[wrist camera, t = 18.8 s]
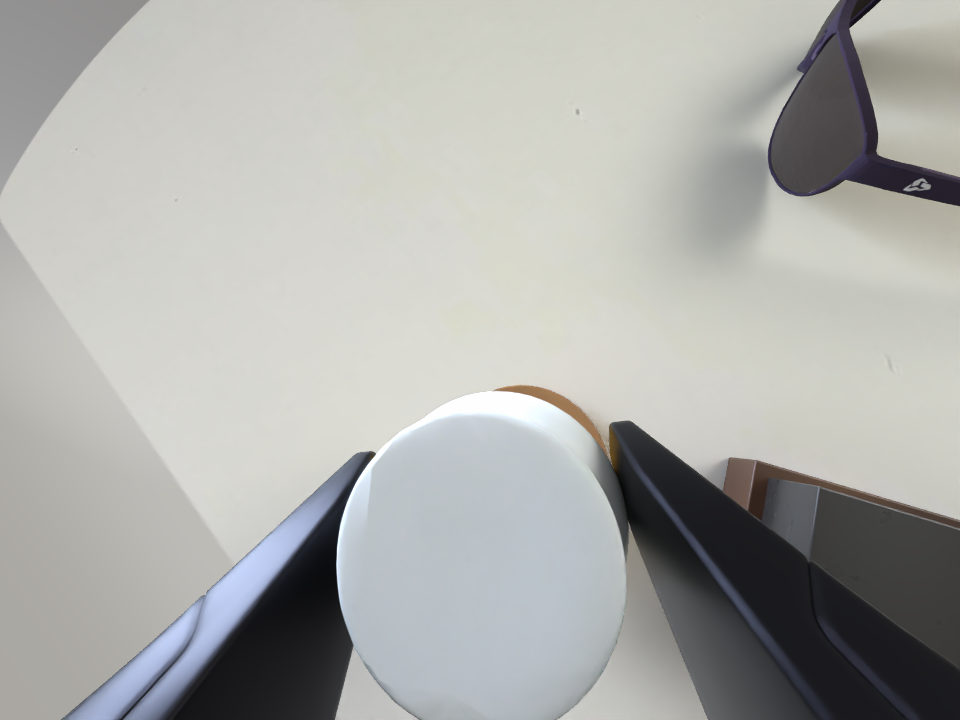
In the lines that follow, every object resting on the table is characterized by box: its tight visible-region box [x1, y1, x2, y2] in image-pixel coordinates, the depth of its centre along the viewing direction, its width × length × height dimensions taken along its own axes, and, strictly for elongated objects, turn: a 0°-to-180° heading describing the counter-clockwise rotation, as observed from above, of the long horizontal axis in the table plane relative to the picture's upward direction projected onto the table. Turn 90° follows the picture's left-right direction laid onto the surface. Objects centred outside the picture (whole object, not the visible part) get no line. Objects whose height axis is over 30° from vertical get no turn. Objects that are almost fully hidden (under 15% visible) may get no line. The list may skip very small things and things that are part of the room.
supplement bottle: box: [336, 391, 629, 720], centre depth 9 cm, size 5×5×10 cm
